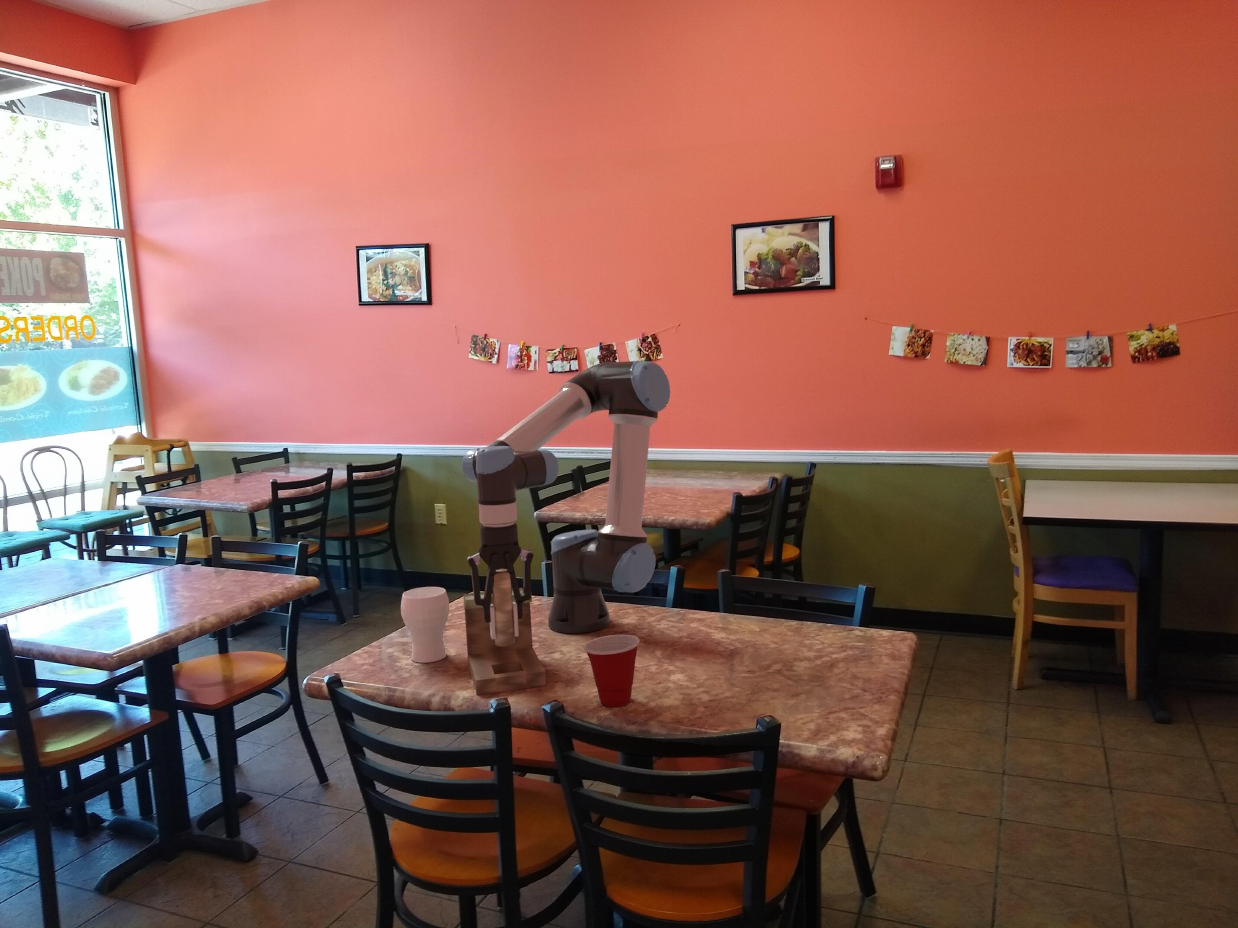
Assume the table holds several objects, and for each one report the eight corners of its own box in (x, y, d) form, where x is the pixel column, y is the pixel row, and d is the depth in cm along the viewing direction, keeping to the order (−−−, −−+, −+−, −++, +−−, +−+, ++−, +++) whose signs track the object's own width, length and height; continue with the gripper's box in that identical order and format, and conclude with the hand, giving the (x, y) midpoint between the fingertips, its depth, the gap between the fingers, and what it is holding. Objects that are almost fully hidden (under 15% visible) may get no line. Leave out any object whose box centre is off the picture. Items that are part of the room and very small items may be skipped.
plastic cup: (597, 688, 184) (594, 630, 182) (649, 693, 180) (646, 633, 179) (577, 709, 174) (574, 648, 172) (632, 714, 170) (629, 652, 169)
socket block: (531, 657, 204) (527, 587, 202) (545, 685, 187) (541, 608, 185) (468, 665, 201) (463, 594, 199) (476, 694, 183) (471, 616, 181)
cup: (441, 665, 201) (437, 599, 199) (396, 664, 203) (391, 598, 201) (459, 649, 211) (455, 586, 210) (416, 648, 214) (411, 585, 212)
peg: (513, 639, 191) (509, 568, 189) (516, 645, 187) (512, 572, 185) (494, 641, 190) (490, 570, 188) (496, 647, 186) (492, 574, 184)
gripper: (537, 516, 191) (542, 626, 194) (454, 523, 187) (461, 635, 190) (543, 522, 184) (548, 636, 187) (457, 530, 180) (464, 645, 183)
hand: (504, 635), depth 188 cm, fingers closed on peg, 4 cm apart
